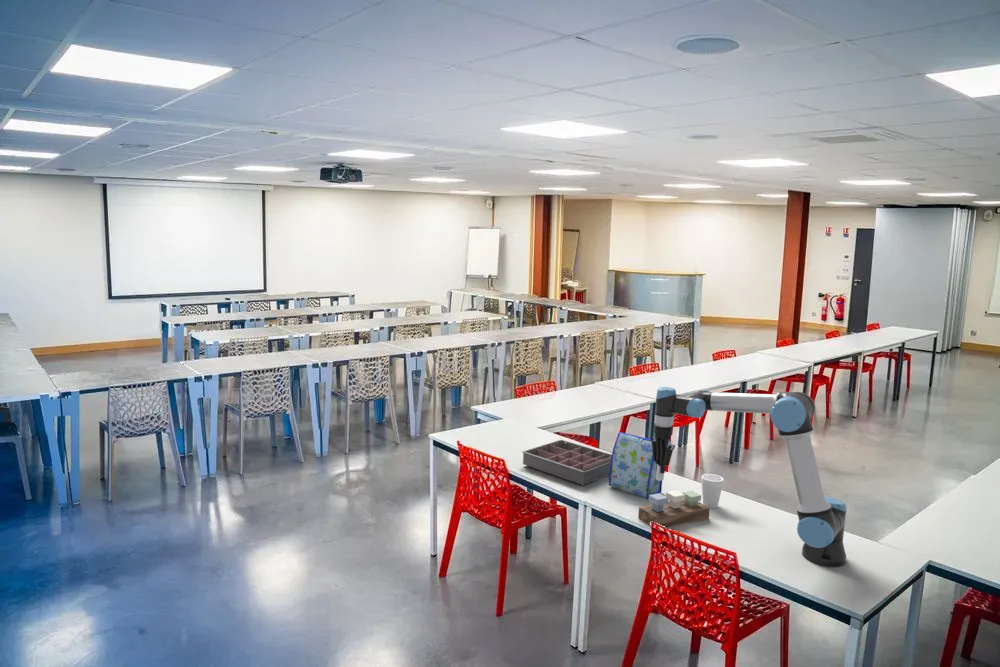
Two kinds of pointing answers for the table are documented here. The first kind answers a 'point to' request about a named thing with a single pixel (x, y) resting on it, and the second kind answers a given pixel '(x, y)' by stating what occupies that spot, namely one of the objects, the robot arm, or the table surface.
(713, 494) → the foam cup
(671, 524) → the wooden socket block
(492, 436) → the table surface
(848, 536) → the table surface
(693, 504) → the sage key
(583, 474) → the organizer tray
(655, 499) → the slate key
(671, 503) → the cream key
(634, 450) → the lunch bag
